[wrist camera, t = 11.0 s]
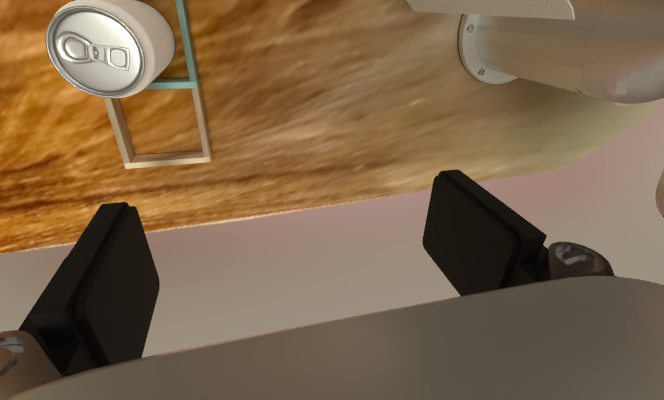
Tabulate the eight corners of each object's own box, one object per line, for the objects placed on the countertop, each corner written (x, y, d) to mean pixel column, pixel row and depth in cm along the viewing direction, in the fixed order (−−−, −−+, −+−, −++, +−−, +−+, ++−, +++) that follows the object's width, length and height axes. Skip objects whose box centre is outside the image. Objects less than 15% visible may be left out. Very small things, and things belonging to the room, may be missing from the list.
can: (98, -11, 30) (30, -18, 20) (178, 10, 32) (152, 15, 22) (101, 65, 33) (42, 93, 23) (174, 80, 35) (150, 112, 25)
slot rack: (162, -131, 27) (157, -140, 25) (211, 154, 40) (210, 161, 38) (38, -143, 25) (23, -154, 24) (130, 160, 38) (125, 168, 36)
